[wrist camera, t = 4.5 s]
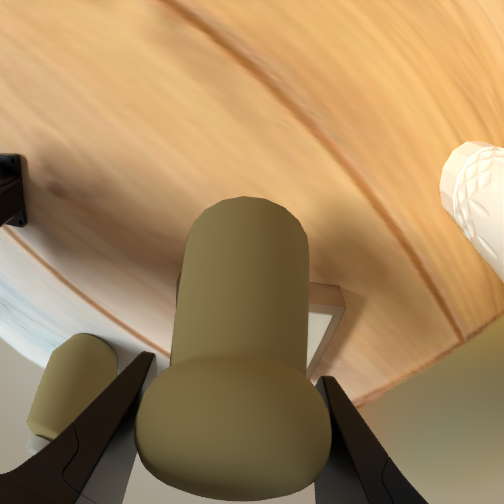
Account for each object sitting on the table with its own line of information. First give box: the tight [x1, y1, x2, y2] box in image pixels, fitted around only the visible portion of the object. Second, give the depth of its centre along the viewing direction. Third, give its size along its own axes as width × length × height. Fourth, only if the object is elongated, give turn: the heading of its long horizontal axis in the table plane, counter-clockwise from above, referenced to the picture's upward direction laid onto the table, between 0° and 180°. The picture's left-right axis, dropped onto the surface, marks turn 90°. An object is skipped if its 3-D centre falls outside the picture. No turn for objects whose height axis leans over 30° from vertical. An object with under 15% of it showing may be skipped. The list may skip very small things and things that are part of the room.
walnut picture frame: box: [176, 270, 346, 380], centre depth 25 cm, size 12×12×3 cm
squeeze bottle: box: [26, 333, 118, 455], centre depth 21 cm, size 8×8×18 cm
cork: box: [134, 196, 332, 501], centre depth 10 cm, size 6×6×11 cm
